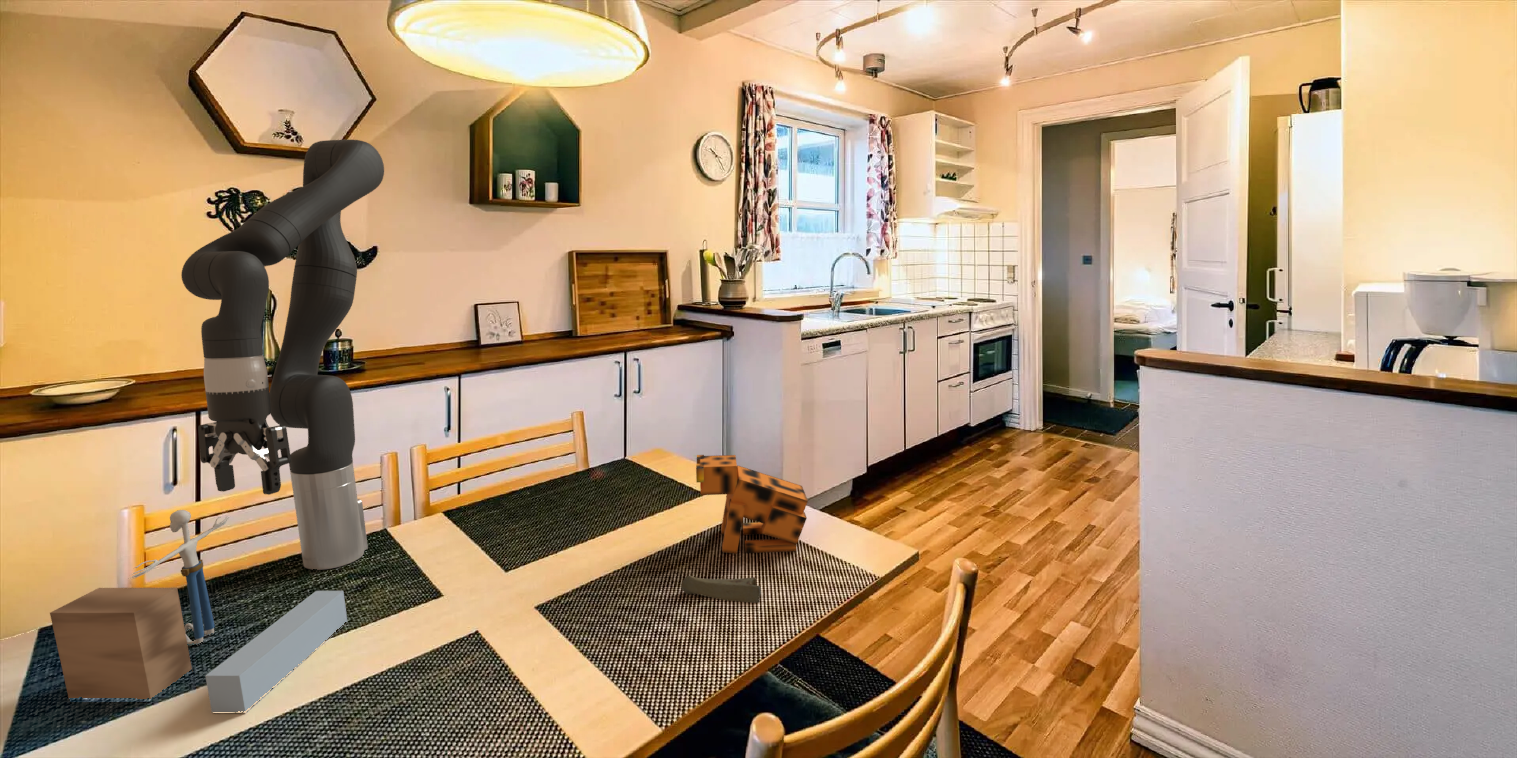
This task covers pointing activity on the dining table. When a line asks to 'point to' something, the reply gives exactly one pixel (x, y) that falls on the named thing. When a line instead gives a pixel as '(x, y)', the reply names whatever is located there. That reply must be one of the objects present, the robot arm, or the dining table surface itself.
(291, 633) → the blue-gray rectangular bar
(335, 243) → the robot arm
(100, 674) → the walnut block
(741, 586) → the grey long curved piece
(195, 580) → the alien figure
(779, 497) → the toy animal
